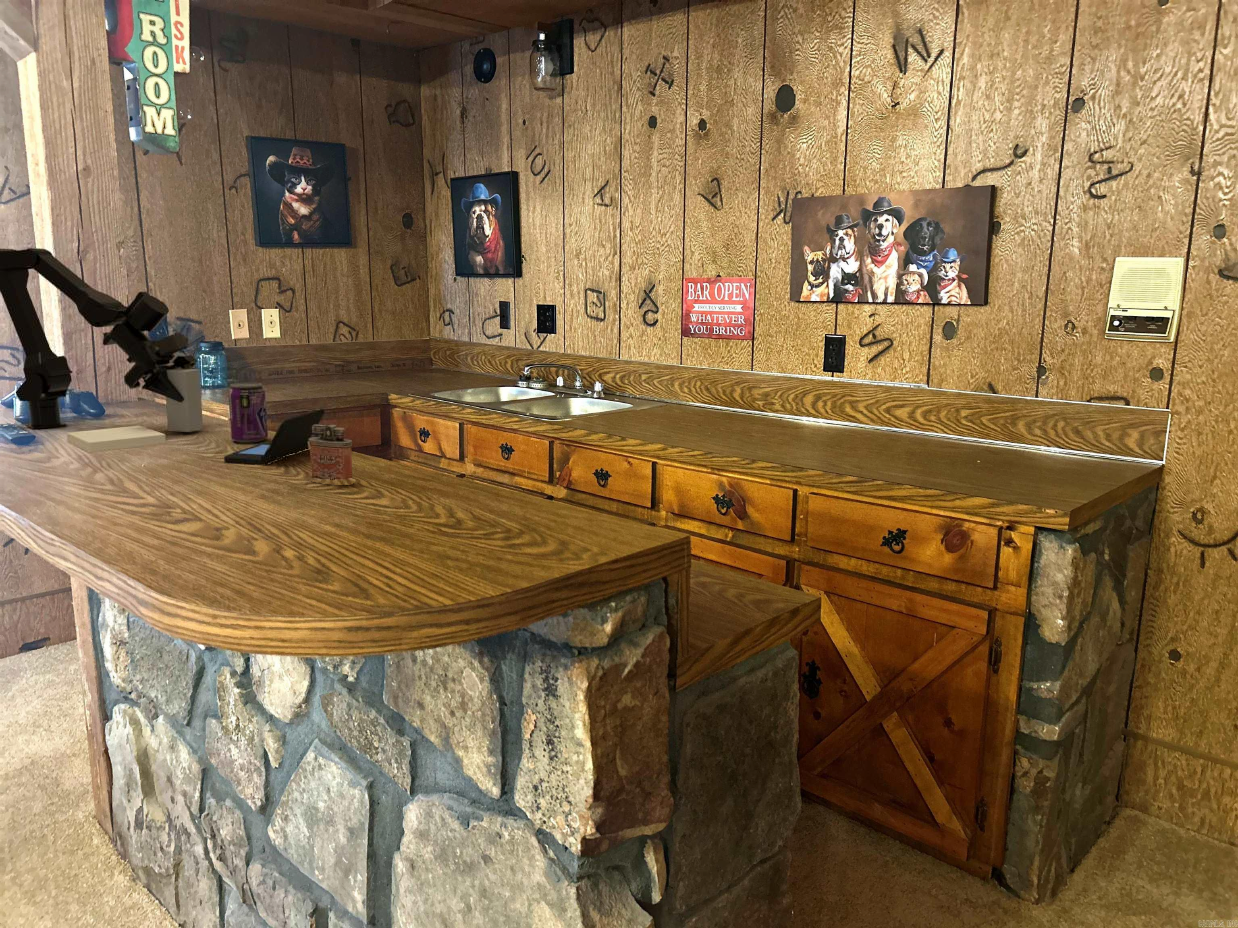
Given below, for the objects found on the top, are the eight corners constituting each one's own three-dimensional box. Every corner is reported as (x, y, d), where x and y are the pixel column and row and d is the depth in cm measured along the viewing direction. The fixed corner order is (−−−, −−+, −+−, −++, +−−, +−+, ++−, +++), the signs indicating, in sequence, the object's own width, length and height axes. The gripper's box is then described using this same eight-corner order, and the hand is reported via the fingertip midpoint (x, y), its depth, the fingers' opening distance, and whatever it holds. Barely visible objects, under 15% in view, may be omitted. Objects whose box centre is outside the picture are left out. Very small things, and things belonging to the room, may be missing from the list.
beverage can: (255, 445, 183) (251, 387, 181) (224, 443, 184) (220, 385, 182) (275, 439, 190) (271, 383, 187) (245, 437, 191) (241, 381, 189)
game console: (267, 448, 181) (265, 404, 179) (329, 452, 179) (327, 407, 177) (220, 464, 166) (216, 416, 164) (287, 468, 164) (284, 419, 162)
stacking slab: (67, 444, 182) (66, 432, 182) (141, 436, 192) (140, 425, 192) (90, 455, 173) (89, 442, 172) (166, 446, 183) (165, 434, 182)
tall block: (168, 430, 193) (164, 370, 190) (182, 427, 197) (178, 368, 195) (189, 431, 192) (185, 371, 189) (203, 428, 197) (199, 369, 194)
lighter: (358, 482, 153) (355, 425, 151) (346, 486, 150) (343, 428, 148) (318, 478, 155) (315, 422, 153) (306, 482, 152) (303, 425, 150)
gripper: (132, 322, 181) (187, 379, 182) (186, 318, 199) (235, 369, 200) (100, 360, 184) (154, 415, 185) (156, 352, 202) (205, 402, 203)
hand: (189, 399), depth 193 cm, fingers closed on tall block, 5 cm apart
